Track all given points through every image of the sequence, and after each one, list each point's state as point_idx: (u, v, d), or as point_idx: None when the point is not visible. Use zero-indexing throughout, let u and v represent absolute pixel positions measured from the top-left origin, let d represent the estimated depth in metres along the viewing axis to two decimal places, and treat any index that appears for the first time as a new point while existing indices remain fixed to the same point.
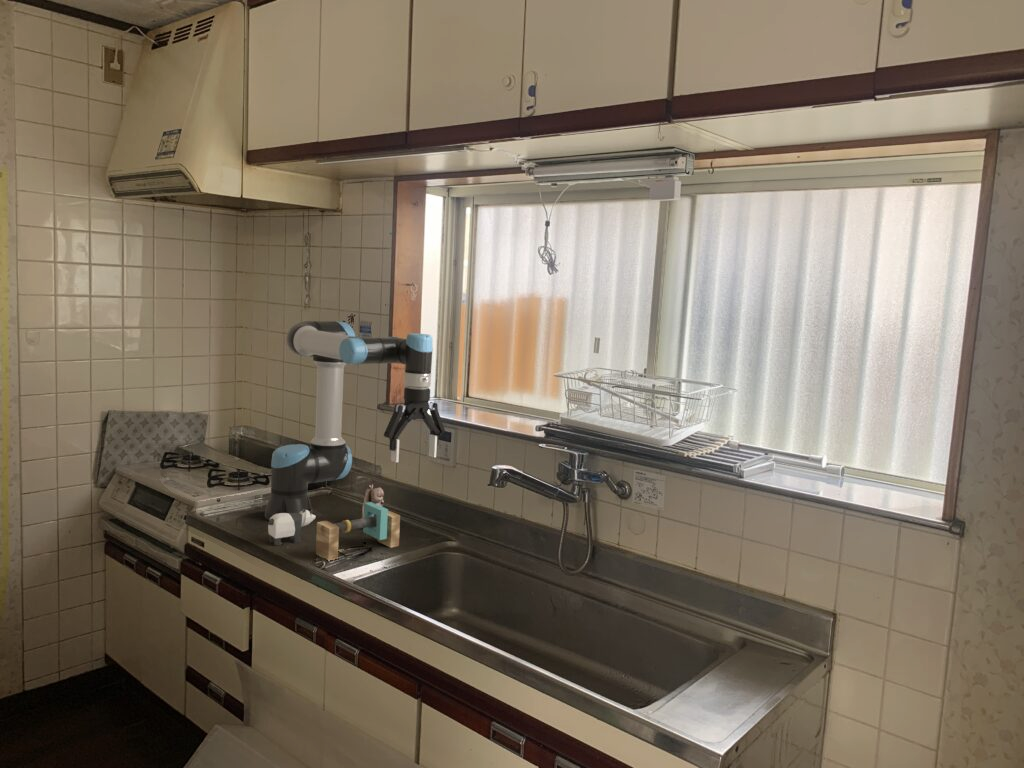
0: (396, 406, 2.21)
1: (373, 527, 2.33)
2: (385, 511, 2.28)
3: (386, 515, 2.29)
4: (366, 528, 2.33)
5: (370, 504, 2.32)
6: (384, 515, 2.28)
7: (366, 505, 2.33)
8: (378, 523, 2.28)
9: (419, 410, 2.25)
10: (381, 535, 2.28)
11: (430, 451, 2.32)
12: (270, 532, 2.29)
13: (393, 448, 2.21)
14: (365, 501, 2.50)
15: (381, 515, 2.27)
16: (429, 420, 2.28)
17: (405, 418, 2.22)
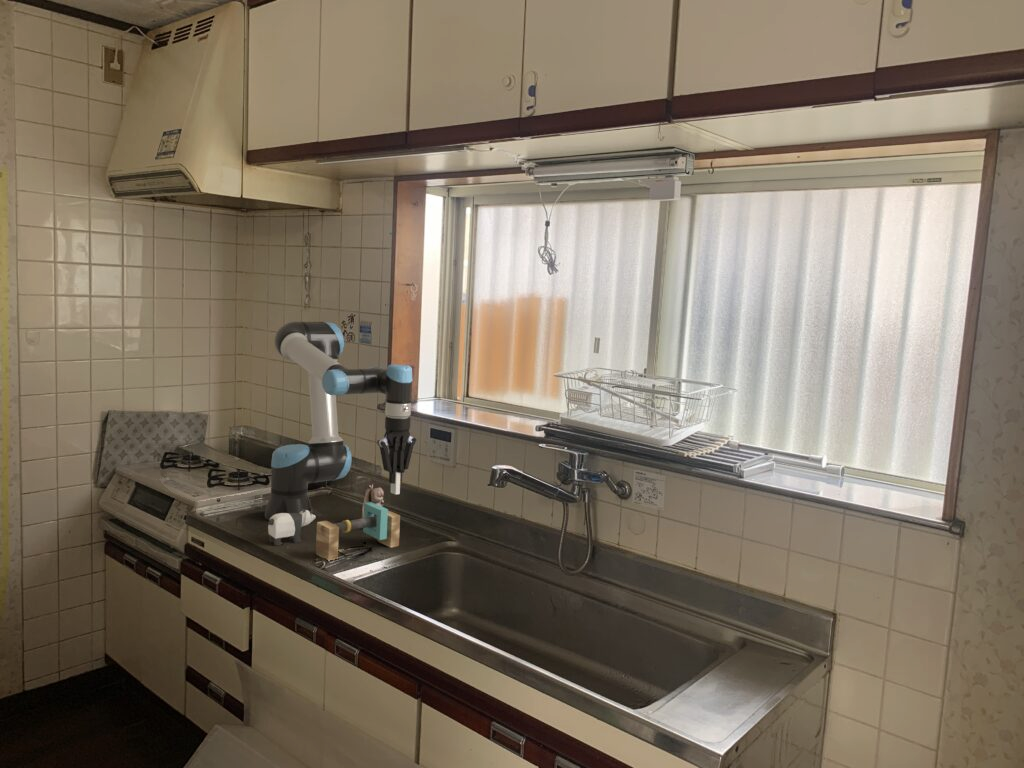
0: (379, 443, 2.29)
1: (373, 527, 2.33)
2: (385, 511, 2.28)
3: (386, 515, 2.29)
4: (366, 528, 2.33)
5: (370, 504, 2.32)
6: (384, 515, 2.28)
7: (366, 505, 2.33)
8: (378, 523, 2.28)
9: (400, 436, 2.32)
10: (381, 535, 2.28)
11: None
12: (270, 532, 2.29)
13: (392, 481, 2.33)
14: (365, 501, 2.50)
15: (381, 515, 2.27)
16: (402, 452, 2.34)
17: (392, 450, 2.32)
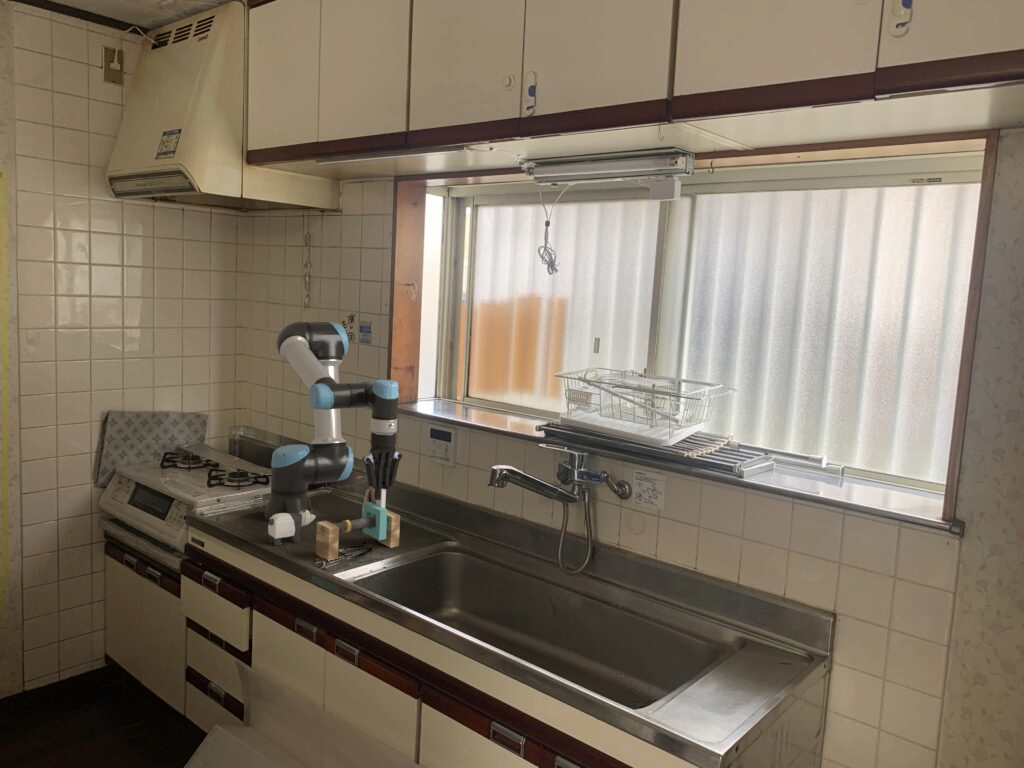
0: (364, 460, 2.27)
1: (372, 527, 2.33)
2: (384, 511, 2.28)
3: (385, 515, 2.28)
4: (365, 528, 2.33)
5: (369, 504, 2.32)
6: (383, 515, 2.28)
7: (365, 505, 2.33)
8: (378, 524, 2.28)
9: (386, 452, 2.30)
10: (380, 535, 2.28)
11: None
12: (270, 532, 2.29)
13: (378, 497, 2.30)
14: (365, 501, 2.50)
15: (380, 515, 2.27)
16: (387, 468, 2.31)
17: (378, 466, 2.29)
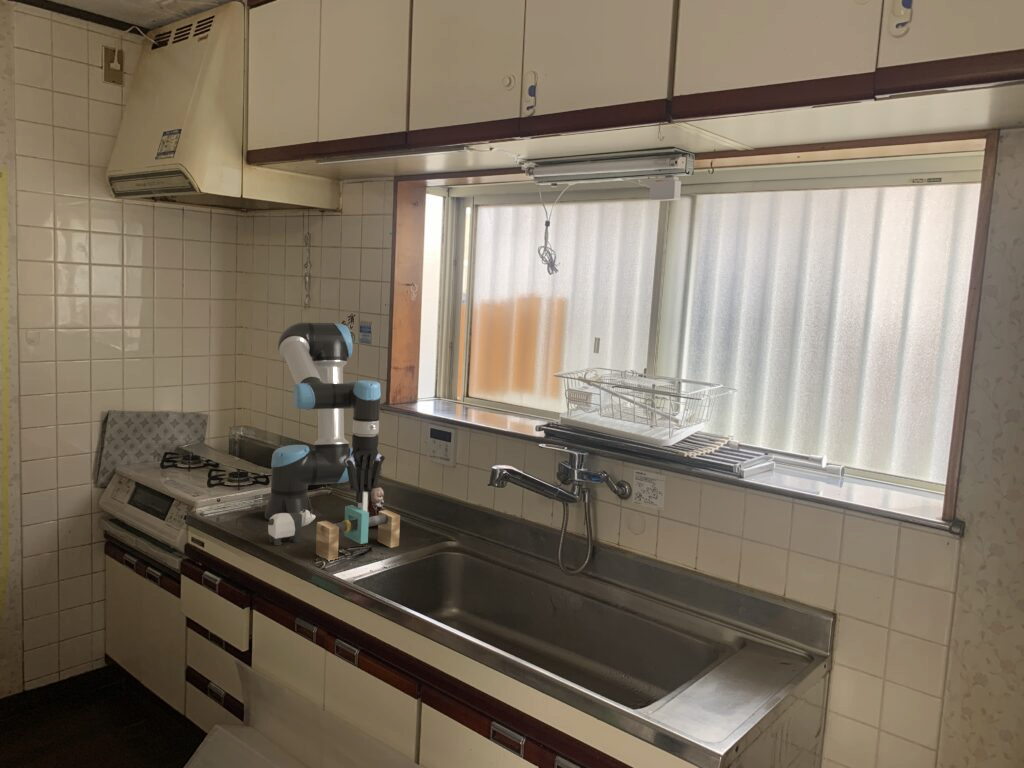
0: (345, 462, 2.22)
1: (354, 531, 2.29)
2: (366, 514, 2.24)
3: (367, 518, 2.24)
4: (347, 532, 2.29)
5: (351, 507, 2.28)
6: (365, 519, 2.24)
7: (347, 508, 2.28)
8: (359, 527, 2.24)
9: (368, 454, 2.25)
10: (362, 539, 2.24)
11: None
12: (270, 532, 2.29)
13: (359, 500, 2.26)
14: None
15: (362, 519, 2.23)
16: (369, 471, 2.27)
17: (359, 469, 2.25)
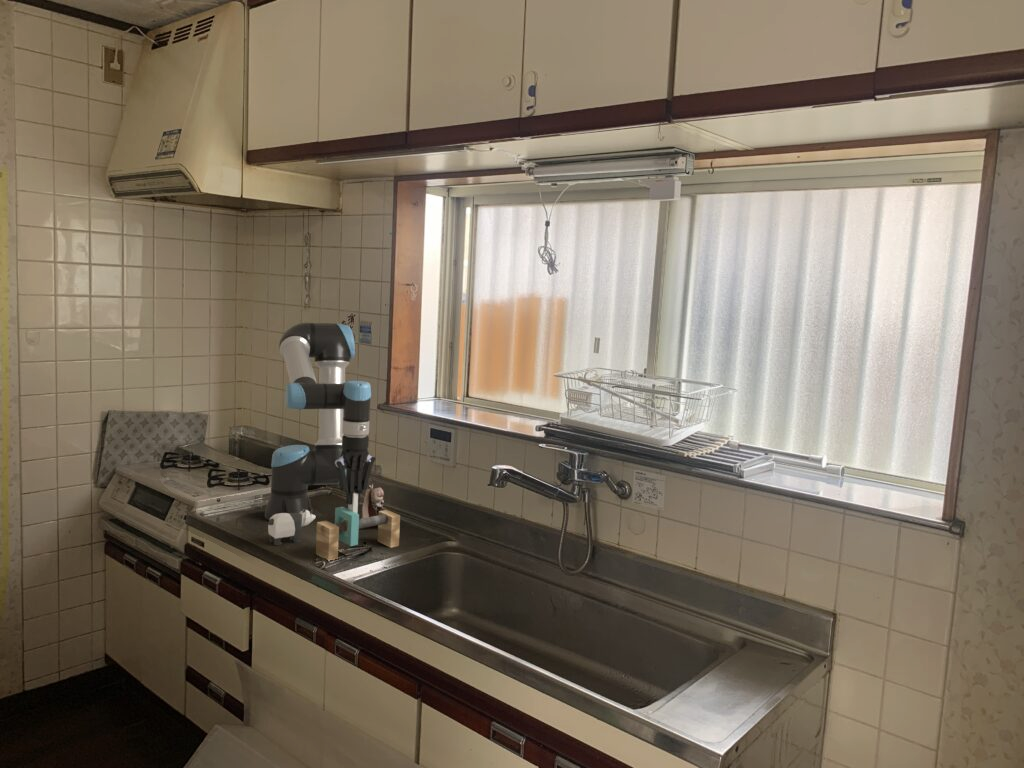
0: (335, 463, 2.20)
1: (344, 533, 2.26)
2: (356, 516, 2.21)
3: (357, 520, 2.22)
4: None
5: (341, 509, 2.26)
6: (355, 520, 2.21)
7: (337, 510, 2.26)
8: (349, 529, 2.21)
9: (358, 456, 2.23)
10: (352, 541, 2.22)
11: None
12: (270, 532, 2.29)
13: (350, 502, 2.24)
14: (365, 501, 2.50)
15: (352, 520, 2.21)
16: (360, 472, 2.24)
17: (349, 470, 2.23)
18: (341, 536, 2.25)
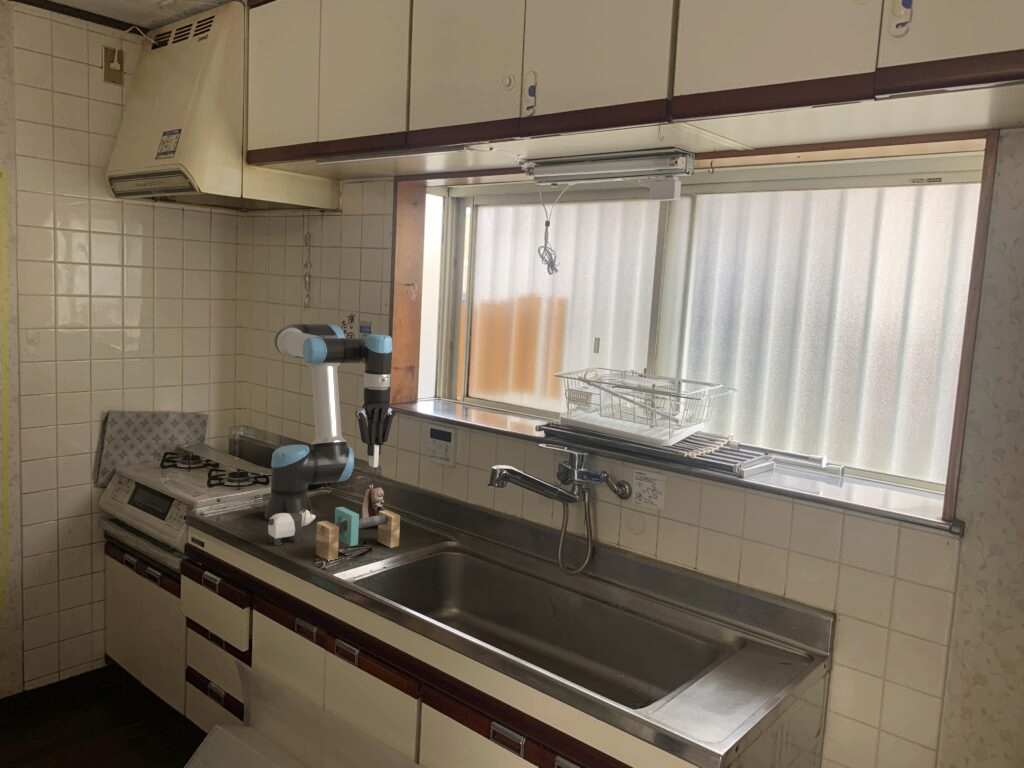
0: (357, 415, 2.24)
1: (344, 533, 2.26)
2: (356, 516, 2.21)
3: (357, 520, 2.22)
4: None
5: (341, 509, 2.26)
6: (355, 520, 2.21)
7: (337, 510, 2.26)
8: (349, 529, 2.21)
9: (379, 408, 2.27)
10: (352, 541, 2.22)
11: None
12: (270, 532, 2.29)
13: (371, 453, 2.28)
14: (365, 501, 2.50)
15: (352, 520, 2.21)
16: (381, 424, 2.28)
17: (371, 422, 2.27)
18: (341, 536, 2.25)
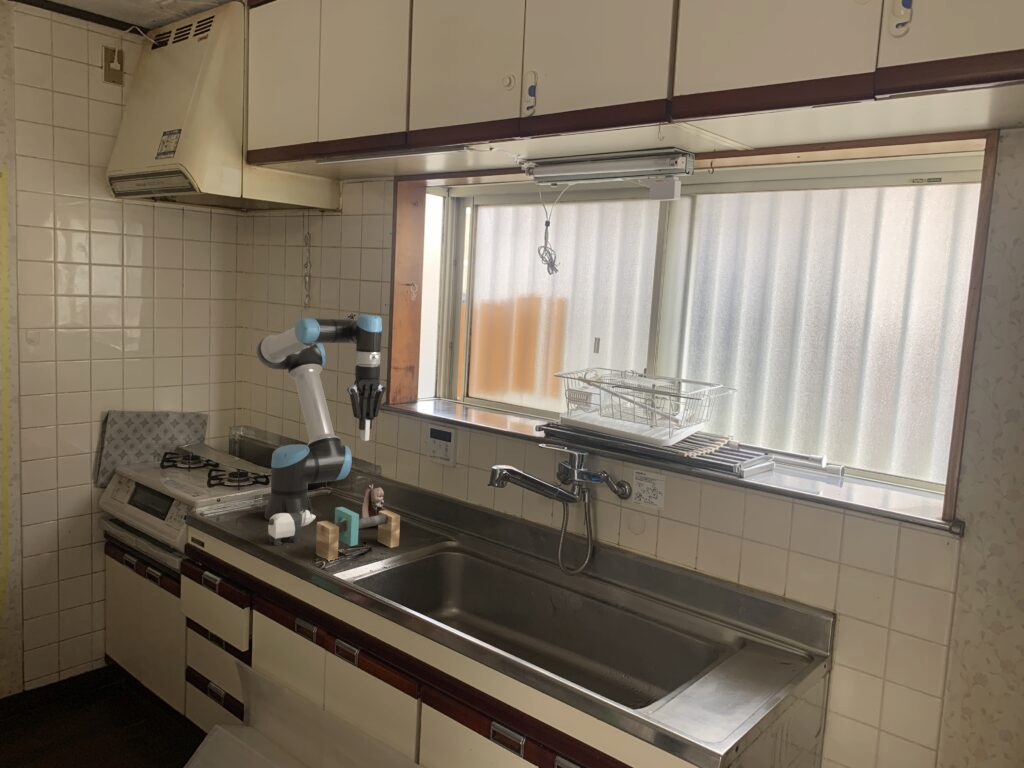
0: (348, 390, 2.37)
1: (344, 533, 2.26)
2: (356, 516, 2.21)
3: (357, 520, 2.22)
4: None
5: (341, 509, 2.26)
6: (355, 520, 2.21)
7: (337, 510, 2.26)
8: (349, 529, 2.21)
9: (370, 384, 2.41)
10: (352, 541, 2.22)
11: None
12: (270, 532, 2.29)
13: (362, 427, 2.41)
14: (365, 501, 2.50)
15: (352, 520, 2.21)
16: (371, 400, 2.42)
17: (362, 397, 2.40)
18: (341, 536, 2.25)
